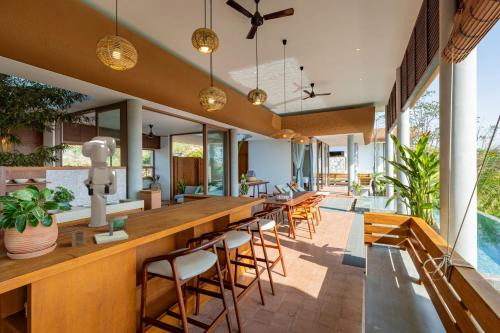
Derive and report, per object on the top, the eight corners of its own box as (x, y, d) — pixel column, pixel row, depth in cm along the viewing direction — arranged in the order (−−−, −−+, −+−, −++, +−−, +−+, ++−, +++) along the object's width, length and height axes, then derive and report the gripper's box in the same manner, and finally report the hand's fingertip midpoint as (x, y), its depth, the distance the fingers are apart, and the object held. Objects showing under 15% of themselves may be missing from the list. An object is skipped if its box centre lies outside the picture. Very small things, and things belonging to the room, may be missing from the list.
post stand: (94, 237, 143) (94, 221, 143) (123, 232, 153) (123, 218, 153) (97, 243, 131) (97, 227, 131) (128, 238, 141) (128, 222, 141)
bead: (71, 243, 131) (71, 233, 131) (85, 241, 135) (85, 231, 135) (72, 246, 126) (72, 235, 126) (86, 244, 130) (86, 233, 130)
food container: (104, 232, 153) (104, 217, 153) (108, 230, 159) (108, 215, 159) (124, 231, 155) (124, 216, 155) (127, 229, 161) (127, 215, 161)
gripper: (108, 165, 145) (108, 193, 144) (79, 165, 128) (79, 196, 128) (116, 165, 142) (116, 193, 142) (88, 165, 126) (88, 196, 125)
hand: (99, 194), depth 135 cm, fingers open, 9 cm apart
